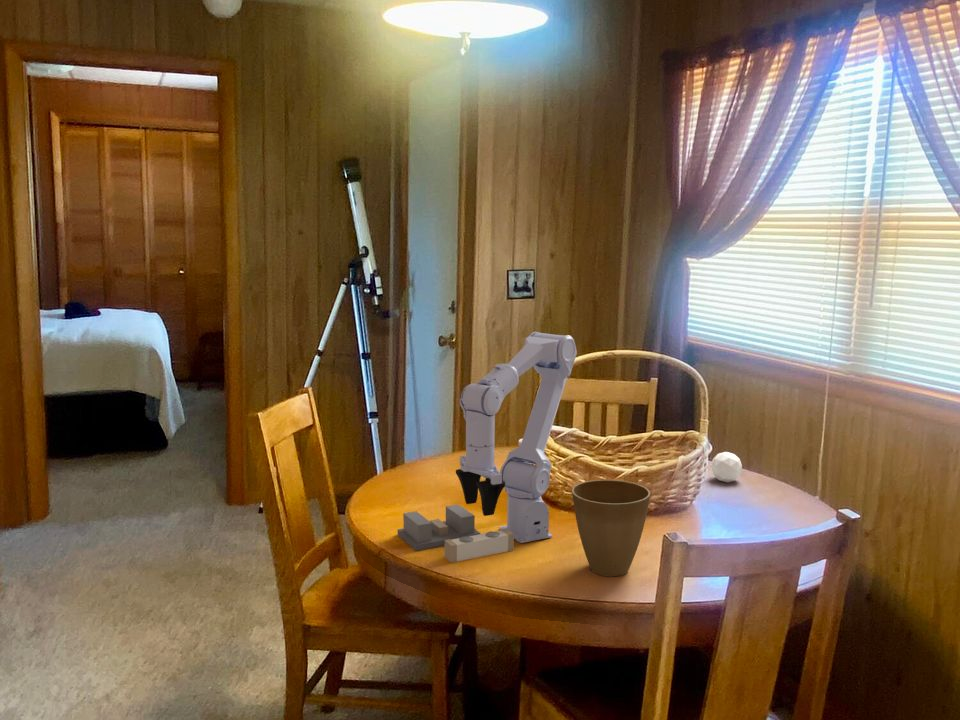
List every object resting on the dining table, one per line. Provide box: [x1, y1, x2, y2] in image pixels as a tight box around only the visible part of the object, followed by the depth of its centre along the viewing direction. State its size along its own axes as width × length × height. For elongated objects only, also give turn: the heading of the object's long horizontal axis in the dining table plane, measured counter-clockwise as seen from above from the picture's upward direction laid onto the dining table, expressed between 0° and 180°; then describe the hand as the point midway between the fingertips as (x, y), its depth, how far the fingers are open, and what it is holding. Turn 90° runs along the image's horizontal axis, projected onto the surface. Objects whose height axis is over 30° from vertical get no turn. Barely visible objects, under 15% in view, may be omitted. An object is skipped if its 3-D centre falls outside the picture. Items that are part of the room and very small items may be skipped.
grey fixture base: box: [396, 504, 482, 551], centre depth 182 cm, size 15×10×5 cm, turn 118°
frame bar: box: [444, 529, 515, 564], centre depth 174 cm, size 3×14×4 cm, turn 118°
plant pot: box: [571, 479, 651, 577], centre depth 166 cm, size 15×15×16 cm
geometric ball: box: [710, 451, 743, 483], centre depth 222 cm, size 8×8×8 cm
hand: (479, 508), depth 172 cm, fingers open, 7 cm apart
